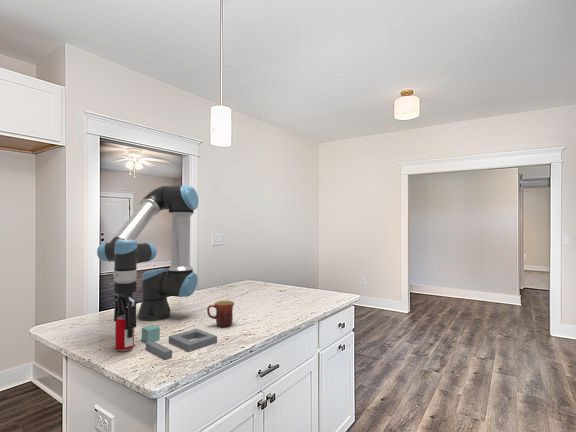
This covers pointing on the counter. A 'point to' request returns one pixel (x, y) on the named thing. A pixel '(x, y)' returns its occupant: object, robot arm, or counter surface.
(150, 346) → the grey flat pieces
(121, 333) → the beverage can
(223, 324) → the mug
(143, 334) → the teal cube block
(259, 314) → the counter surface
